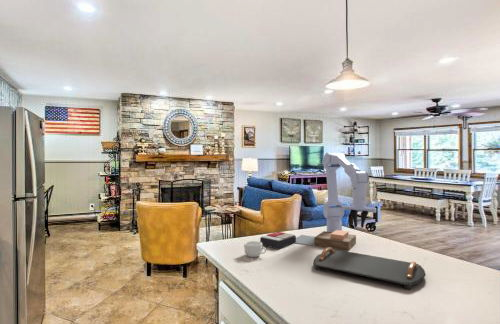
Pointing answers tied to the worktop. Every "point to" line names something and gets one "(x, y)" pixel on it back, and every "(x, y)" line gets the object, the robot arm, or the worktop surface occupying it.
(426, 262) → the worktop surface
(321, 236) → the brown flat block
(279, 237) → the calculator
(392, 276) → the serving board
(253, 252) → the teacup
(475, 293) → the worktop surface
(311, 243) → the mat
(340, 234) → the peach upright slab
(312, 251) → the worktop surface
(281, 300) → the worktop surface
